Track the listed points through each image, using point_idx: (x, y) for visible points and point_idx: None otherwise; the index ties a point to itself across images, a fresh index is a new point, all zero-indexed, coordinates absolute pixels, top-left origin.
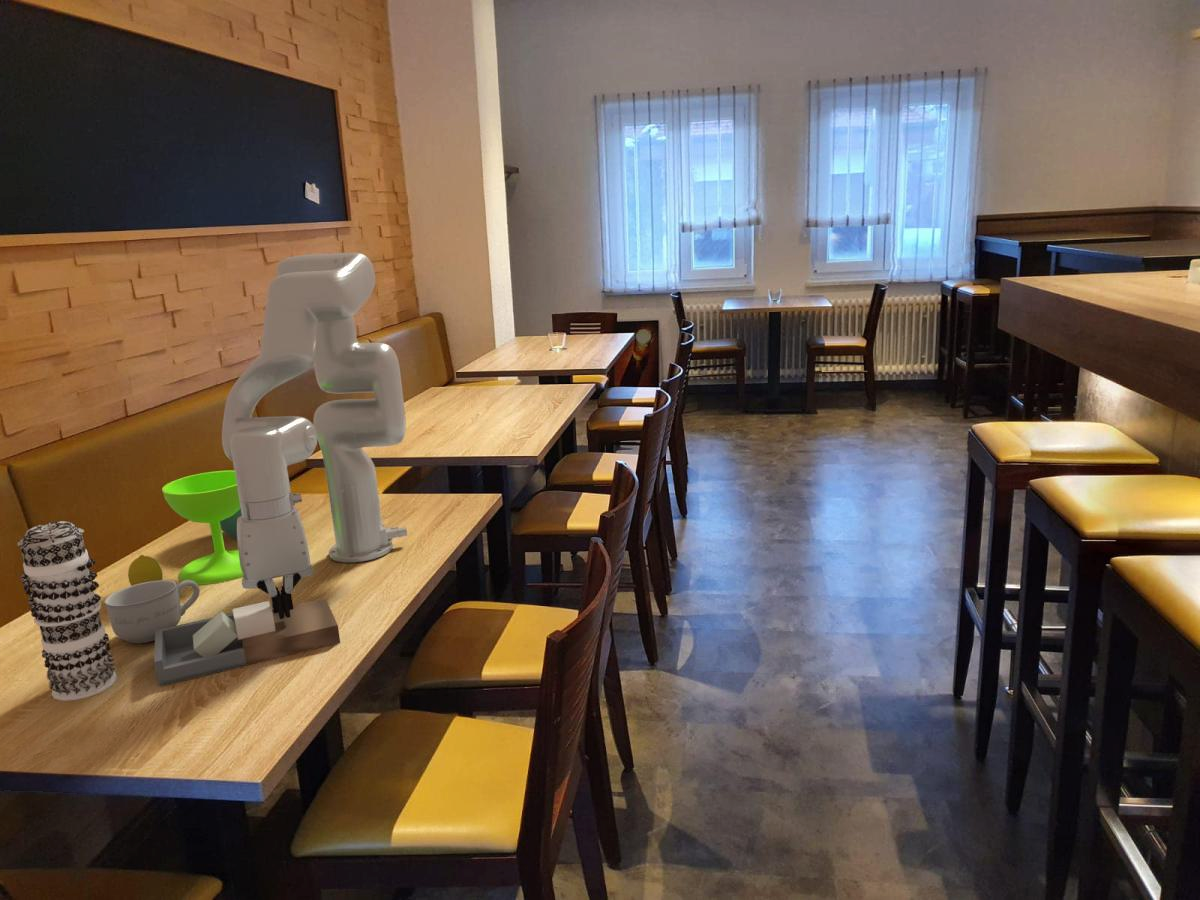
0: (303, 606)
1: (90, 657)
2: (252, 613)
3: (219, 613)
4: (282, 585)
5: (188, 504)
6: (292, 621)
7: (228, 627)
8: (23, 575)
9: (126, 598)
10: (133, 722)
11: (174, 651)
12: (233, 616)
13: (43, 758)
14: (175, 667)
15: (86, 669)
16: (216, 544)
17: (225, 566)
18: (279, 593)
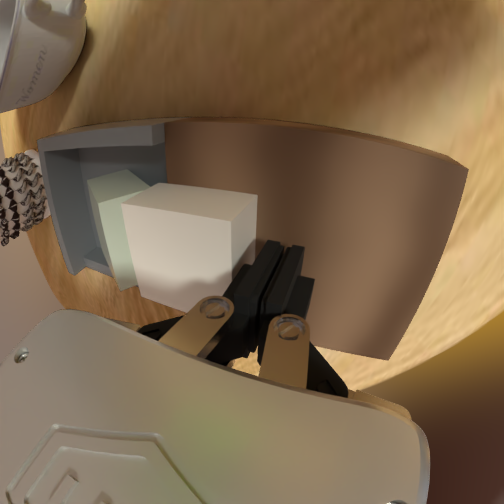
0: (381, 178)
1: (12, 232)
2: (176, 283)
3: (97, 207)
4: (264, 338)
5: None
6: (309, 270)
7: (134, 278)
8: None
9: (5, 18)
10: (101, 307)
11: (86, 151)
12: (145, 145)
13: (65, 302)
14: (97, 270)
15: (21, 227)
16: None
17: None
18: (251, 332)
